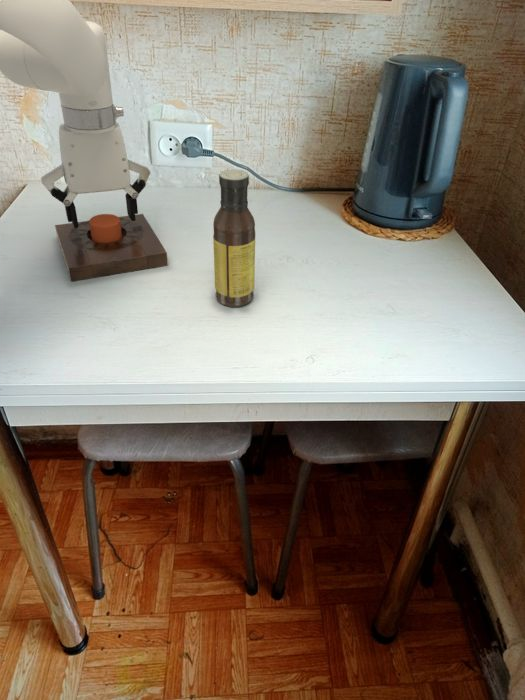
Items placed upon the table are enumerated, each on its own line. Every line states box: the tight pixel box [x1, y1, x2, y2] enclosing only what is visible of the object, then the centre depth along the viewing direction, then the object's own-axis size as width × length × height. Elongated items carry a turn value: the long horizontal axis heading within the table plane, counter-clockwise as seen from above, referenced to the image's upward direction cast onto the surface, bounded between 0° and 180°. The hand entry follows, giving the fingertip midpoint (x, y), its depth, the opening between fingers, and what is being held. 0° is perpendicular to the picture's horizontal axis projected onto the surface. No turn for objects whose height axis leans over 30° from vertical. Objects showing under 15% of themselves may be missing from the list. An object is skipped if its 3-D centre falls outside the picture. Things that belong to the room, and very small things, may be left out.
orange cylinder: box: [89, 213, 122, 243], centre depth 90 cm, size 5×5×5 cm
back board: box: [54, 213, 169, 282], centre depth 90 cm, size 16×16×2 cm
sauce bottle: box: [212, 169, 256, 308], centre depth 75 cm, size 6×6×20 cm
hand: (104, 221), depth 88 cm, fingers open, 9 cm apart
